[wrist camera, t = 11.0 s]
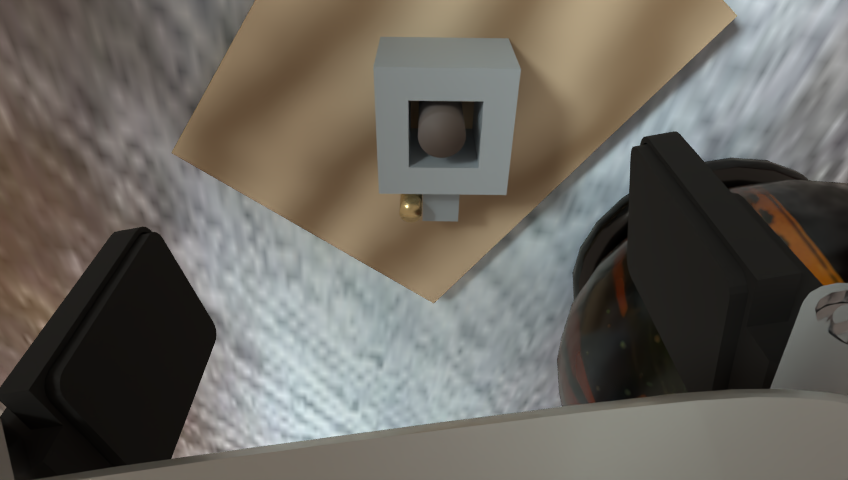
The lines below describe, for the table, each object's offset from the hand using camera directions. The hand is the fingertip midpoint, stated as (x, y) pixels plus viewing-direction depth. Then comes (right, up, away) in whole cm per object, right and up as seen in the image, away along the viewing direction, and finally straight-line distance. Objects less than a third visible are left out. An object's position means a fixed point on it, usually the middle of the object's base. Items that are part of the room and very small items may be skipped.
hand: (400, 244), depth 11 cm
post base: (+1, +8, +19) cm, 21 cm away
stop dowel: (0, +4, +21) cm, 22 cm away
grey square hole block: (+1, +6, +19) cm, 20 cm away
